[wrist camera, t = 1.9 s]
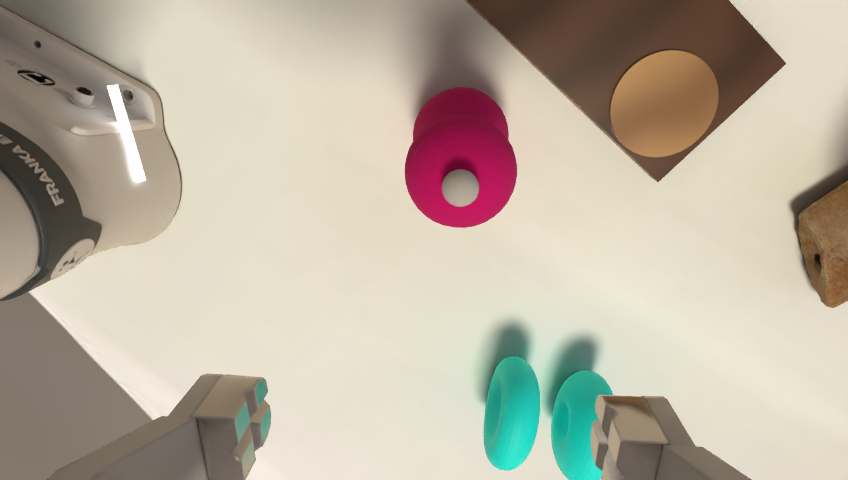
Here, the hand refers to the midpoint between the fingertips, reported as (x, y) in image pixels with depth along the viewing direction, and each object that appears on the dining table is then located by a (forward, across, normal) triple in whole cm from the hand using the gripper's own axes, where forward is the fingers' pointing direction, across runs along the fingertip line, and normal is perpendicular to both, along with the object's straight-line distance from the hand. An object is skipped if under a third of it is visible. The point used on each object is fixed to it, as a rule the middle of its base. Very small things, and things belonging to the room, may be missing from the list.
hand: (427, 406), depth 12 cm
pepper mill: (+32, -1, -2) cm, 32 cm away
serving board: (+32, -12, -10) cm, 36 cm away
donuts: (+32, -9, +23) cm, 41 cm away
